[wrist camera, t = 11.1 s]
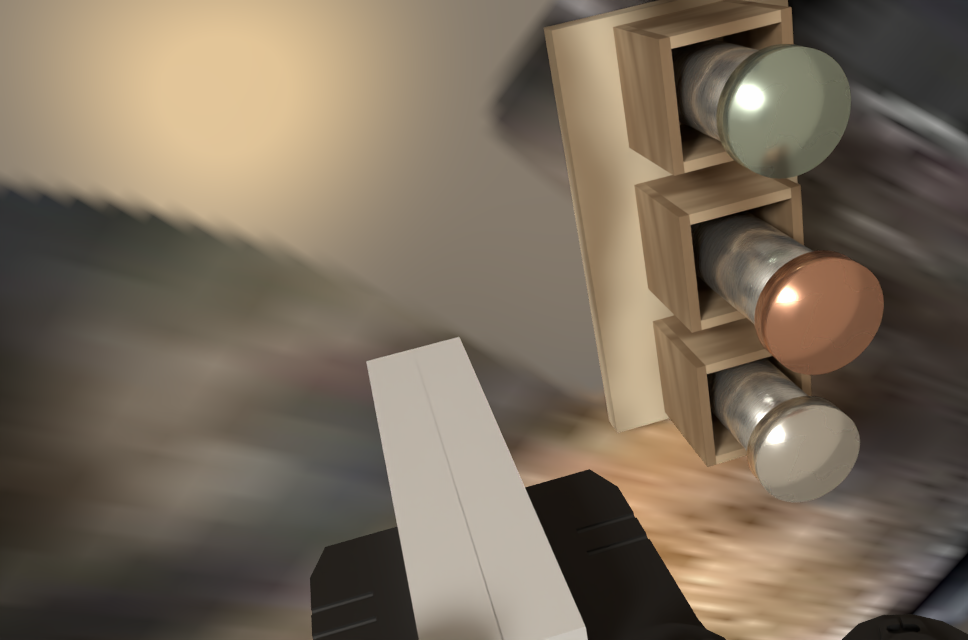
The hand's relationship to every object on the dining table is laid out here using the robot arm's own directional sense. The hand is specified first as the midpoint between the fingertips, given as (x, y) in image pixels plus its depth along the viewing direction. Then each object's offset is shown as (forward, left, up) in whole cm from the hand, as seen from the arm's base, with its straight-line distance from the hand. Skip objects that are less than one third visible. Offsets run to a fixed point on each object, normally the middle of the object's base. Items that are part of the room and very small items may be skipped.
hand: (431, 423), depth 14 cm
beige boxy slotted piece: (+16, -10, -32) cm, 37 cm away
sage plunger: (+16, -2, -29) cm, 34 cm away
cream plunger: (+16, -18, -29) cm, 38 cm away
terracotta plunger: (+16, -10, -27) cm, 34 cm away
